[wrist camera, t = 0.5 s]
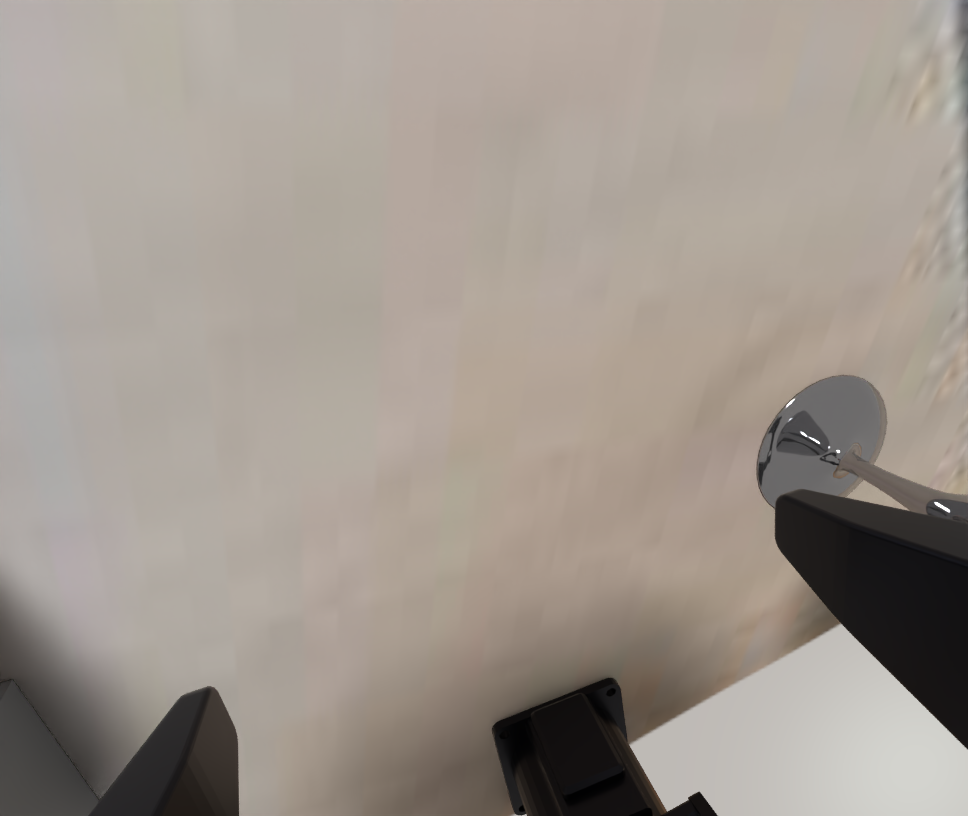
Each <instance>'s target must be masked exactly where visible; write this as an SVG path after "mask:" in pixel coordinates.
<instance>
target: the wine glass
mask: <svg viewBox="0 0 968 816" xmlns="http://www.w3.org/2000/svg"><path fill="white" fill-rule="evenodd" d="M886 427H887V414H886V408H885V404H884V401H883V399H882V397H881V395H880V393H879V392H878V390H877V389H876V388H875V387H874V386H873V385H872V384H871V383H869V382H868V381H866V380H865V379H862V378H859V377H856V376H850V375H840V376H832V377H829V378H826V379H823V380H820V381H818V382H816V383H814V384H812V385H810V386H808V387H807V388H805V389H804V390H802V391H801V392H800V393H798V394H797V395H796V396H795V397H794V398H792V399H791V400H790V401H789V402H788V403H787V404H786V405H785V406H784V408H783V409H782V410H781V411H780V412H779V413H778V415H777V416H776V418H775V419H774V421H773V422H772V424H771V425H770V427H769V429H768V431H767V433H766V435H765V437H764V439H763V442H762V445H761V448H760V451H759V456H758V462H757V478H758V483H759V488H760V490H761V492H762V495H763V496H764V498H765V499H766V500H767V502H768V503H769V504H770V505H771V506H773V507H774V508H775V502H776V499H777V498H778V497H779V496H780V495H782V494H785V493H788V492H791V491H793V490H797V489H806V490H811V491H816V492H821V493H826V494H830V495H835V496H840V497H846V496H848V495H849V494H850V493H851V492H852V491H853V490H854V489H855V488H856V487H857V486H858V485H859V484H860V483H861V482H862V481H863V480H865V481H867V482H868V483H870V484H872V485H873V486H875V487H877V488H878V489H880V490H881V491H883V492H884V493H886V494H887V495H889V496H890V497H892V498H893V499H895V500H896V501H897V502H899V503H900V504H902V505H903V506H904V507H906V508H907V509H908V510H909V511H912V512H917V513H921V514H926V515H931V516H936V517H941V518H945V519H950V520H955V521H960V522H965V523H968V495H966V494H954V493H946V492H943V491H939V490H935V489H932V488H930V487H927V486H924V485H921V484H918V483H915V482H913V481H910V480H907V479H905V478H902V477H900V476H897V475H895V474H893V473H890V472H888V471H886V470H883V469H881V468H879V467H877V466H875V465H874V463H875V461H876V460H877V458H878V456H879V453H880V451H881V448H882V446H883V442H884V438H885V434H886Z"/></svg>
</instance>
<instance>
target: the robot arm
mask: <svg viewBox="0 0 968 816" xmlns="http://www.w3.org/2000/svg"><path fill="white" fill-rule="evenodd" d="M775 540H776V543H777V546H778V548H779V549H780V551H781V552H782V554H783V555H784V556H785V557H786V559H787V560H788V561H789V562H790V563H791V565H792V566H793V567H794V568H795V569H796V571H797V572H798V573H799V574H800V575H801V576H802V578H803V579H804V580H805V581H806V582H807V584H808V585H809V586H810V587H811V588H812V590H813V591H814V592H815V593H816V594H817V596H818V597H819V598H820V599H821V600H822V602H823V603H824V604H825V605H826V606H827V608H828V609H829V610H830V611H831V612H832V613H833V615H834V616H835V617H836V618H837V619H838V620H839V621H840V622H841V624H842V625H843V626H844V627H845V628H846V629H847V630H848V631H849V632H850V633H851V634H852V635H853V636H854V637H855V638H856V639H857V640H858V641H859V642H860V643H861V644H862V645H863V646H864V647H865V648H866V649H867V650H868V651H869V652H870V653H871V654H872V655H873V656H874V657H875V658H876V659H877V660H878V661H879V662H880V663H881V664H882V665H883V666H884V667H885V668H886V669H887V670H888V671H889V672H890V673H891V674H892V675H893V676H894V677H895V678H896V679H897V680H898V681H899V682H900V683H901V684H902V685H903V686H904V687H905V688H906V689H907V690H908V691H909V692H910V693H911V694H913V696H914V697H915V698H916V699H917V700H918V701H919V702H920V703H921V704H922V705H923V706H925V708H926V709H927V710H929V712H930V713H931V714H933V716H935V718H937V720H939V722H940V723H941V724H942V725H943V726H945V727H946V728H947V729H948V730H949V731H950V732H951V733H952V734H953V735H954V736H955V737H956V738H957V739H958V740H959V741H960V742H961V743H962V744H963V745H964V746H965V747H966V748H967V749H968V523H965V522H960V521H955V520H950V519H945V518H941V517H936V516H931V515H926V514H921V513H917V512H912V511H907V510H902V509H897V508H893V507H888V506H883V505H878V504H873V503H869V502H864V501H859V500H854V499H850V498H845V497H840V496H835V495H830V494H826V493H821V492H816V491H811V490H806V489H797V490H793V491H791V492H788V493H785V494H782V495H780V496H779V497H778V498H777V499H776V502H775ZM492 734H493V737H494V741H495V745H496V748H497V752H498V756H499V759H500V763H501V767H502V771H503V774H504V778H505V782H506V785H507V789H508V793H509V796H510V800H511V804H512V807H513V810H514V813H515V814H516V815H524V814H527V816H717V814H716V813H715V812H714V810H713V809H712V807H711V806H710V805H709V804H708V802H707V801H706V799H705V798H704V797H703V796H702V794H701V793H700V792H697V793H696V794H693V795H692V796H690V797H688V799H689V800H688V801H686V802H684V803H682V804H681V805H679V806H677V807H675V808H673V809H672V810H670V811H668V812H667V811H666V809H665V807H664V805H663V804H662V802H661V800H660V798H659V797H658V795H657V793H656V791H655V790H654V788H653V786H652V785H651V783H650V781H649V779H648V777H647V776H646V774H645V772H644V770H643V769H642V767H641V765H640V763H639V762H638V760H637V758H636V756H635V755H634V753H633V751H632V749H631V748H630V746H629V744H628V741H627V733H626V726H625V719H624V711H623V704H622V697H621V689H620V687H619V685H618V683H617V682H616V680H615V679H613V678H607V679H604V680H602V681H599V682H597V683H594V684H592V685H589V686H587V687H584V688H582V689H579V690H577V691H574V692H572V693H569V694H566V695H564V696H561V697H559V698H556V699H554V700H551V701H549V702H546V703H544V704H541V705H539V706H536V707H534V708H531V709H529V710H526V711H523V712H521V713H518V714H516V715H513V716H511V717H508V718H506V719H503V720H501V721H499V722H497V723H496V724H495V725H494V726H493V728H492ZM88 816H239V781H238V739H237V733H236V729H235V726H234V724H233V722H232V720H231V718H230V716H229V714H228V711H227V709H226V707H225V705H224V703H223V701H222V699H221V697H220V695H219V693H218V691H217V690H216V689H215V688H214V687H211V686H207V687H204V688H201V689H198V690H195V691H192V692H189V693H187V694H185V695H183V696H181V697H180V698H179V699H178V700H177V702H176V703H175V704H174V705H173V707H172V708H171V709H170V711H169V712H168V713H167V714H166V716H165V717H164V718H163V720H162V721H161V722H160V724H159V725H158V726H157V727H156V729H155V730H154V731H153V733H152V734H151V735H150V736H149V738H148V739H147V740H146V742H145V743H144V744H143V745H142V747H141V748H140V749H139V751H138V752H137V753H136V754H135V756H134V757H133V758H132V760H131V761H130V762H129V763H128V765H127V766H126V767H125V769H124V770H123V771H122V773H121V774H120V775H119V776H118V778H117V779H116V780H115V782H114V783H113V784H112V785H111V787H110V788H109V789H108V791H107V792H106V793H105V794H104V796H103V797H102V798H101V800H100V801H99V802H98V803H97V805H96V806H95V807H94V809H93V810H92V811H91V812H90V814H89V815H88Z"/></svg>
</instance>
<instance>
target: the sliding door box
mask: <svg viewBox="0 0 968 816" xmlns="http://www.w3.org/2000/svg"><path fill="white" fill-rule="evenodd" d="M98 802H99V800H98V798H97V797H96V796H95V794H94V793H93V791H92V790H91V789H90V787H89V786H88V784H87V783H86V782H85V780H84V779H83V777H82V776H81V775H80V773H79V772H78V770H77V769H76V768H75V766H74V765H73V763H72V762H71V761H70V759H69V758H68V756H67V755H66V754H65V752H64V751H63V749H62V748H61V747H60V745H59V744H58V742H57V741H56V740H55V738H54V737H53V735H52V734H51V733H50V731H49V730H48V728H47V727H46V726H45V724H44V723H43V721H42V720H41V719H40V717H39V716H38V714H37V713H36V712H35V710H34V709H33V707H32V706H31V705H30V703H29V702H28V700H27V699H26V698H25V696H24V695H23V693H22V692H21V691H20V689H19V688H18V686H17V685H16V684H15V682H14V681H13V679H12V680H9V681H6V682H3V683H0V816H88V815H89V814H90V812H91V811H92V810H93V809H94V807H95V806H96V805H97V803H98Z"/></svg>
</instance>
